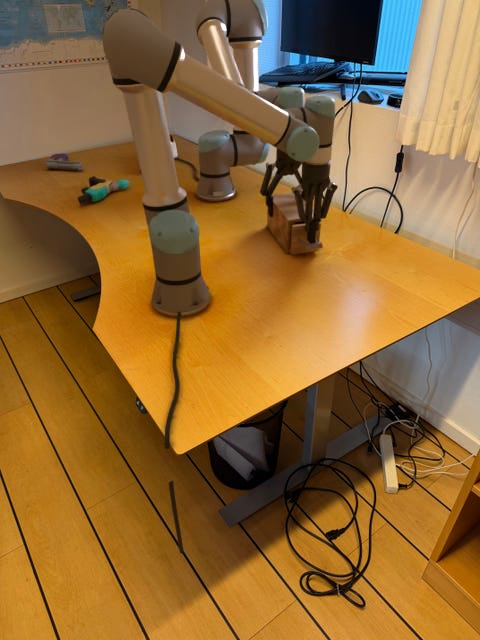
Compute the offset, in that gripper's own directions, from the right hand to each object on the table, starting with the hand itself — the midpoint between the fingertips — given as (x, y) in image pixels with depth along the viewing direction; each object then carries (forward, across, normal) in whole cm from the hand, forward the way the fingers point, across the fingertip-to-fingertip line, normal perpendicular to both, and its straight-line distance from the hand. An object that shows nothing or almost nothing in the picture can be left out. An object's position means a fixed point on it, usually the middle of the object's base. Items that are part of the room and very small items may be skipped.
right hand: (285, 213), depth 157 cm
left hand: (0, 0, +22) cm, 22 cm away
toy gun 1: (+6, +73, -90) cm, 116 cm away
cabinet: (+6, 0, +6) cm, 8 cm away
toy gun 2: (+6, +61, -50) cm, 80 cm away
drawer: (+5, 0, +12) cm, 13 cm away
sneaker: (+6, +33, -82) cm, 88 cm away
